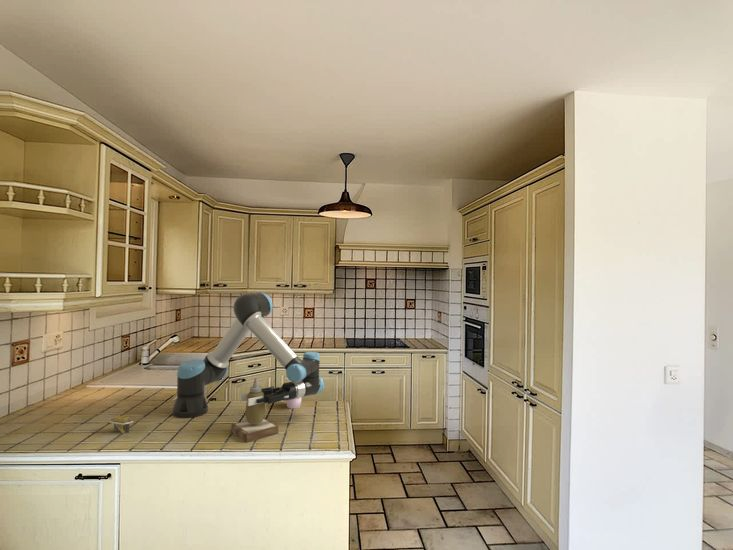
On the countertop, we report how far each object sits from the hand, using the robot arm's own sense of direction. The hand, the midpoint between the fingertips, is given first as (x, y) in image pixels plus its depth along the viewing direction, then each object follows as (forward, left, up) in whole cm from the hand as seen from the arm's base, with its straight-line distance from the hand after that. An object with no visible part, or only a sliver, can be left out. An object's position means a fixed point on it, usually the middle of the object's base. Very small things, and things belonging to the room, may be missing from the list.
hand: (244, 400), depth 166 cm
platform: (-35, -37, -15) cm, 53 cm away
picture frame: (0, +5, -14) cm, 15 cm away
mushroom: (-18, +35, -15) cm, 42 cm away
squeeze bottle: (0, +5, -10) cm, 11 cm away
